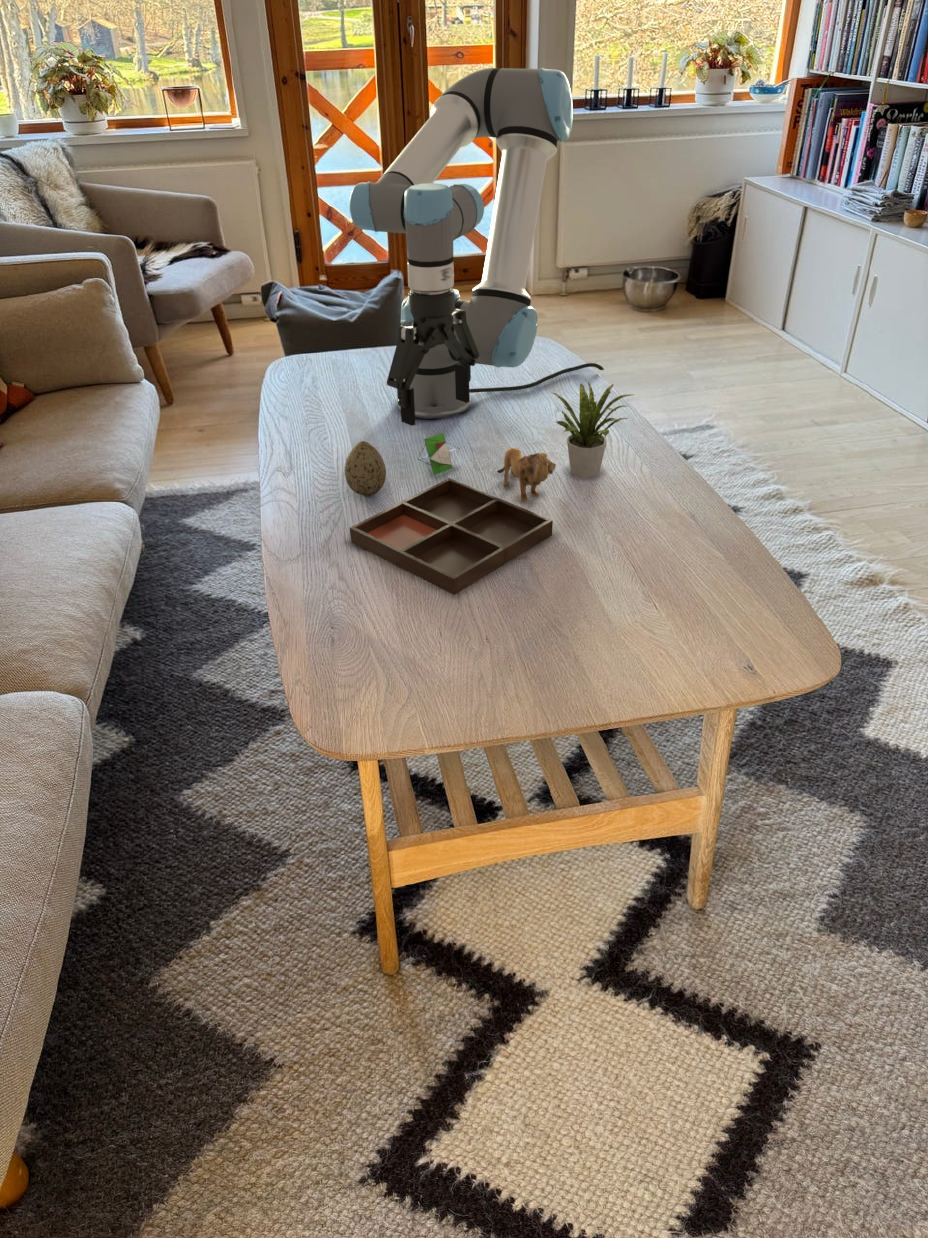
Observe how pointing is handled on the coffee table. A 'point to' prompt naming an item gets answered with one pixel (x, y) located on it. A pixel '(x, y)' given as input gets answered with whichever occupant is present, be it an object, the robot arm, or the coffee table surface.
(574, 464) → the house plant
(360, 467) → the decorative egg
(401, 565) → the sorting tray
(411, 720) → the coffee table surface
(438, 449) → the geometric puzzle
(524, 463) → the lion figurine
